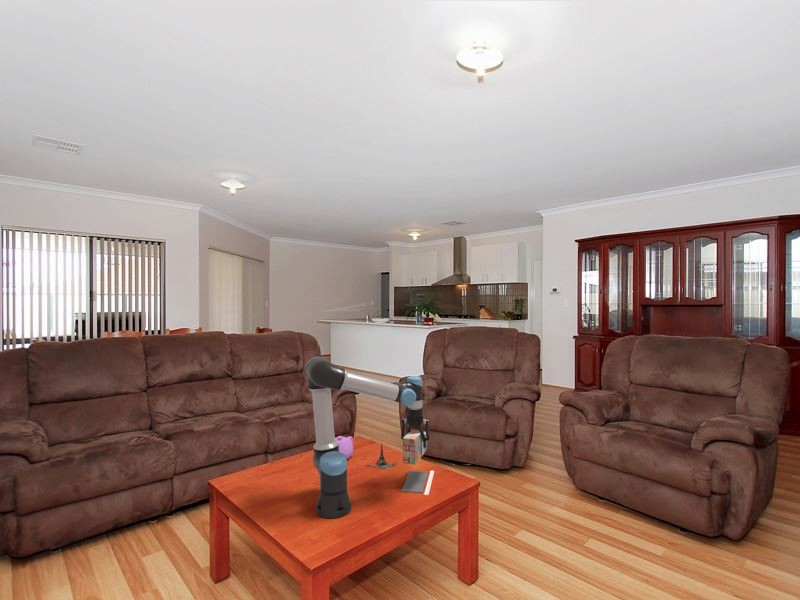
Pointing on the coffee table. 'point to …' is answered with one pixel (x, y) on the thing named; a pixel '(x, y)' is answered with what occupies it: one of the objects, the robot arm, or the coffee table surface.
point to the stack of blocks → (412, 447)
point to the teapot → (345, 445)
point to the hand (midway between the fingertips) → (415, 453)
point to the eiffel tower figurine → (382, 462)
